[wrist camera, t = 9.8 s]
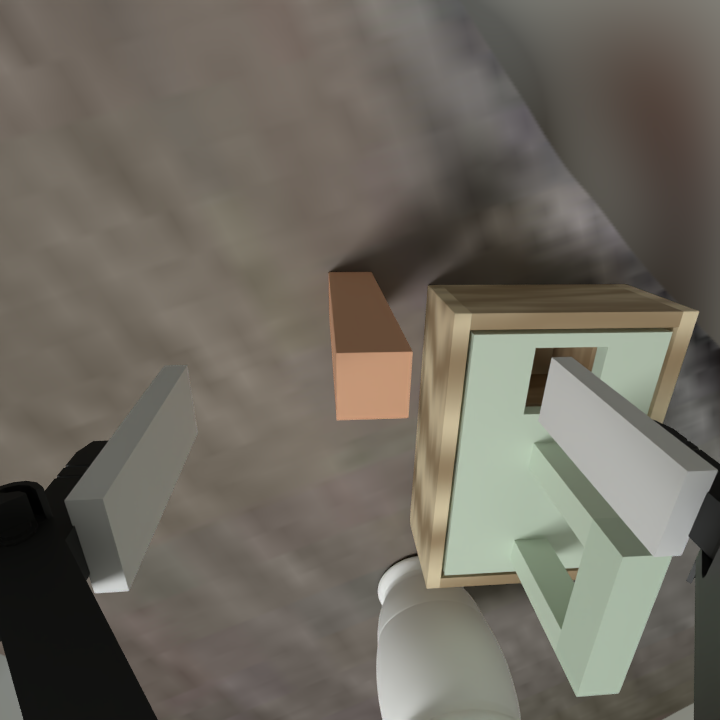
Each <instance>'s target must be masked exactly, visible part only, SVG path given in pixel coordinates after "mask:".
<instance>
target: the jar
mask: <svg viewBox="0 0 720 720" xmlns="http://www.w3.org/2000/svg"><path fill="white" fill-rule="evenodd" d="M378 597H379V600H380V602H381V604H382V608H381V612H380V616H379V622H378V648H377V664H376V672H377V689H378V697H379V704H380V709H381V714H382V719H383V720H521V717H520V710H519V704H518V699H517V695H516V691H515V687H514V684H513V680H512V677H511V674H510V671H509V668H508V665H507V662H506V660H505V657H504V655H503V653H502V650H501V648H500V646H499V644H498V642H497V640H496V638H495V636H494V634H493V632H492V631H491V629H490V627H489V626H488V624H487V622H486V621H485V619H484V617H483V615H482V613H481V611H480V609H479V607H478V606H477V604H476V602H475V601H474V600H473V598H472V597H471V596H470V594H469V593H468V592H467V591H466V590H465V589H464V587H447V588H431V589H427V588H426V584H425V580H424V576H423V572H422V568H421V564H420V560H419V556H415V557H411V558H407V559H404V560H402V561H400V562H398V563H396V564H395V565H393V566H392V567H390V568H389V569H388V570H387V571H386V572H385V573H384V575H383V576H382V578H381V580H380V582H379V585H378Z"/></svg>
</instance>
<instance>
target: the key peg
mask: <svg viewBox="0 0 720 720" xmlns="http://www.w3.org/2000/svg"><path fill="white" fill-rule="evenodd" d="M329 317H330V331H331V345H332V359H333V374H334V388H335V402H336V417H337V420H360V419H392V418H408V414H409V399H410V384H411V369H412V354H413V351H412V350H411V348H410V346H409V344H408V342H407V340H406V338H405V336H404V334H403V332H402V330H401V328H400V326H399V324H398V322H397V321H396V319H395V317H394V315H393V313H392V311H391V309H390V307H389V305H388V303H387V301H386V299H385V297H384V295H383V293H382V291H381V290H380V288H379V286H378V284H377V282H376V280H375V278H374V276H373V274H372V272H329Z"/></svg>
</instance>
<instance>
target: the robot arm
mask: <svg viewBox="0 0 720 720" xmlns="http://www.w3.org/2000/svg"><path fill="white" fill-rule="evenodd" d="M538 421H539V422H540V424H541V425H542V426H543V427H544V428H545V429H546V431H547V432H548V433H549V434H550V435H551V436H552V438H553V439H554V440H555V441H556V442H557V444H558V445H559V446H560V447H561V448H562V449H563V451H564V452H565V453H566V454H567V455H568V456H569V458H570V459H571V460H572V461H573V462H574V464H575V465H576V466H577V467H578V468H579V469H580V471H581V472H582V473H583V474H584V475H585V477H586V478H587V479H588V480H589V481H590V482H591V484H592V485H593V486H594V487H595V488H596V489H597V491H598V492H599V493H600V494H601V495H602V497H603V498H604V499H605V500H606V501H607V502H608V504H609V505H610V506H611V507H612V508H613V509H614V511H615V512H616V513H617V514H618V515H619V517H620V518H621V519H622V520H623V521H624V522H625V524H626V525H627V526H628V527H629V528H630V530H631V531H632V532H633V533H634V534H635V535H636V537H637V538H638V539H639V540H640V541H641V542H642V544H643V545H644V546H645V547H646V548H647V550H648V551H649V552H650V553H651V554H652V555H653V557H665V556H680V555H682V553H683V551H684V548H685V546H686V544H687V541H688V539H689V537H690V538H691V539H692V540H693V541H694V542H695V543H696V544H697V545H698V546H699V547H700V548H701V549H700V551H699V554H698V556H697V558H696V560H695V562H694V565H693V567H692V569H691V571H690V573H689V576H688V578H687V580H686V581H687V582H689V583H692V581H693V579H694V578H695V665H694V720H720V464H719V463H718V462H717V461H715V460H714V459H713V458H711V457H710V456H709V455H707V454H706V453H705V452H703V451H702V450H699V449H698V447H697V446H695V445H694V444H693V443H691V442H690V441H687V439H686V438H685V437H683V436H682V435H681V434H679V433H678V432H677V431H675V430H674V429H673V428H670V427H668V426H666V425H664V424H662V423H660V422H658V421H656V420H653V419H651V418H650V417H649V416H647V415H646V414H645V413H643V412H642V411H641V410H640V409H638V408H637V407H636V406H634V405H633V404H632V403H631V402H629V401H628V400H627V399H625V398H624V397H623V396H621V395H620V394H619V393H618V392H616V391H615V390H614V389H612V388H611V387H610V386H609V385H607V384H606V383H605V382H603V381H602V380H601V379H599V378H598V377H597V376H596V375H594V374H593V373H592V372H590V371H589V370H588V369H587V368H585V367H584V366H583V365H581V364H580V363H579V362H577V361H576V360H575V359H574V358H572V357H552V358H551V363H550V368H549V372H548V377H547V382H546V386H545V391H544V396H543V401H542V405H541V410H540V415H539V419H538ZM197 434H198V429H197V423H196V417H195V410H194V404H193V398H192V391H191V385H190V379H189V372H188V366H187V365H171V366H164V367H163V368H162V370H161V371H160V372H159V374H158V375H157V376H156V378H155V379H154V380H153V382H152V383H151V384H150V386H149V387H148V388H147V390H146V391H145V392H144V394H143V395H142V397H141V398H140V399H139V401H138V402H137V403H136V405H135V406H134V407H133V409H132V410H131V411H130V413H129V414H128V415H127V417H126V418H125V419H124V421H123V422H122V423H121V425H120V426H119V428H118V429H117V430H116V432H115V433H114V434H113V436H112V437H111V438H110V440H109V441H93V442H91V443H90V444H88V445H87V446H85V447H84V448H82V449H81V450H79V451H78V452H76V454H75V455H74V456H73V457H72V458H71V460H70V461H69V462H68V463H67V464H66V468H63V469H62V471H61V472H60V473H59V474H58V475H57V479H54V480H53V481H52V483H51V484H50V485H49V486H48V488H47V489H46V490H45V491H44V489H43V487H42V486H41V485H40V484H38V483H37V482H30V481H21V482H13V483H9V484H6V485H3V486H0V641H2V644H3V648H4V651H5V655H6V658H7V662H8V666H9V669H10V673H11V676H12V680H13V684H14V687H15V691H16V694H17V698H18V702H19V705H20V709H21V712H22V716H23V720H158V719H157V717H156V716H155V714H154V712H153V710H152V708H151V706H150V704H149V702H148V700H147V698H146V696H145V694H144V692H143V690H142V688H141V686H140V684H139V682H138V681H137V679H136V677H135V675H134V673H133V671H132V669H131V667H130V665H129V663H128V661H127V659H126V657H125V655H124V653H123V651H122V649H121V648H120V646H119V644H118V642H117V640H116V638H115V636H114V634H113V632H112V630H111V628H110V626H109V624H108V622H107V620H106V618H105V616H104V614H103V613H102V611H101V609H100V607H99V605H98V603H97V601H96V599H95V597H94V595H93V593H92V591H91V589H90V587H89V585H88V583H87V581H86V580H87V578H88V577H90V580H91V583H92V586H93V589H94V592H95V593H106V592H121V591H129V590H130V588H131V585H132V583H133V581H134V578H135V576H136V574H137V571H138V569H139V567H140V565H141V562H142V560H143V558H144V555H145V553H146V551H147V549H148V546H149V544H150V542H151V539H152V537H153V535H154V532H155V530H156V528H157V526H158V523H159V521H160V519H161V516H162V514H163V512H164V510H165V507H166V505H167V503H168V500H169V498H170V496H171V493H172V491H173V489H174V487H175V484H176V482H177V480H178V477H179V475H180V473H181V471H182V468H183V466H184V464H185V461H186V459H187V457H188V454H189V452H190V450H191V448H192V445H193V443H194V441H195V438H196V436H197Z"/></svg>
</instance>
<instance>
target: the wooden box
mask: <svg viewBox="0 0 720 720" xmlns="http://www.w3.org/2000/svg"><path fill="white" fill-rule="evenodd" d="M698 314H699V311H697V310H694V309H691V308H689V307H686V306H683V305H681V304H678V303H675V302H673V301H670V300H667V299H665V298H662V297H659V296H656V295H654V294H651V293H648V292H646V291H643V290H640V289H638V288H635V287H632V286H629V285H627V284H546V285H428V291H427V304H426V317H425V331H424V344H423V357H422V370H421V383H420V396H419V410H418V423H417V436H416V449H415V462H414V475H413V489H412V502H411V515H410V525H411V529H412V533H413V537H414V541H415V545H416V549H417V552H418V556H419V560H420V564H421V568H422V572H423V576H424V580H425V584H426V588H427V589H431V588H447V587H464V586H481V585H498V584H514V583H521V581H520V579H519V577H518V575H517V573H516V571H513V572H496V573H479V574H461V575H444V571H443V568H442V562H443V553H444V545H445V537H446V528H447V520H448V511H449V503H450V494H451V486H452V477H453V469H454V460H455V452H456V444H457V435H458V427H459V418H460V410H461V401H462V393H463V384H464V376H465V367H466V359H467V351H468V342H469V334H470V330H510V329H589V328H665V329H667V330H669V331H671V332H673V333H672V336H671V339H670V342H669V346H668V349H667V352H666V355H665V359H664V362H663V365H662V368H661V372H660V375H659V378H658V381H657V385H656V388H655V391H654V394H653V398H652V401H651V404H650V407H649V410H648V414H647V416H649V417H650V418H651V419H653V420H656V421H658V422H660V423H662V424H663V421H664V418H665V415H666V412H667V409H668V406H669V403H670V400H671V396H672V393H673V390H674V387H675V384H676V381H677V378H678V375H679V372H680V369H681V366H682V363H683V360H684V357H685V354H686V351H687V348H688V344H689V341H690V338H691V335H692V332H693V329H694V326H695V323H696V320H697V317H698ZM596 351H597V347H566V348H536V349H535V355H534V360H533V366H532V371H531V377H530V382H529V388H528V393H527V399H526V404H525V407H532V406H541V405H542V401H543V396H544V391H545V386H546V382H547V377H548V372H549V368H550V363H551V358H552V357H572V358H574V359H575V360H576V361H577V362H579V363H580V364H581V365H583V366H584V367H585V368H587V369H588V370H589V371H590V372H592V368H593V364H594V360H595V355H596ZM578 569H579V568H566V571H567V572H568V574H569V575H570V577H571V579H572V580H576V576H577V573H578Z"/></svg>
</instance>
